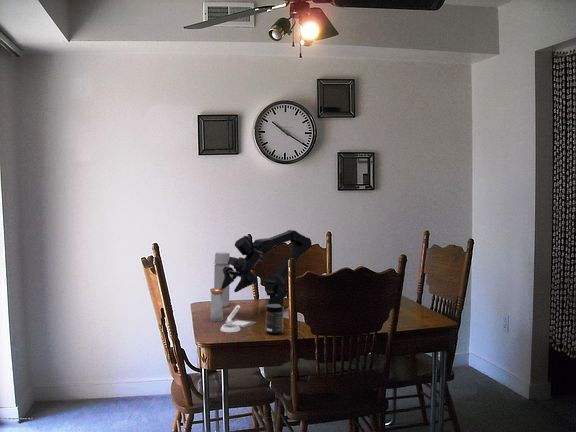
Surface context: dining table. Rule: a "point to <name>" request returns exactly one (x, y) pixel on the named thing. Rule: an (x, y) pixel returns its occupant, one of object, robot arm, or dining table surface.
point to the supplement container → (274, 319)
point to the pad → (242, 323)
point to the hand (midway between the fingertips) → (228, 290)
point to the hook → (231, 322)
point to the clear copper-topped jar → (216, 304)
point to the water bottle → (221, 274)
